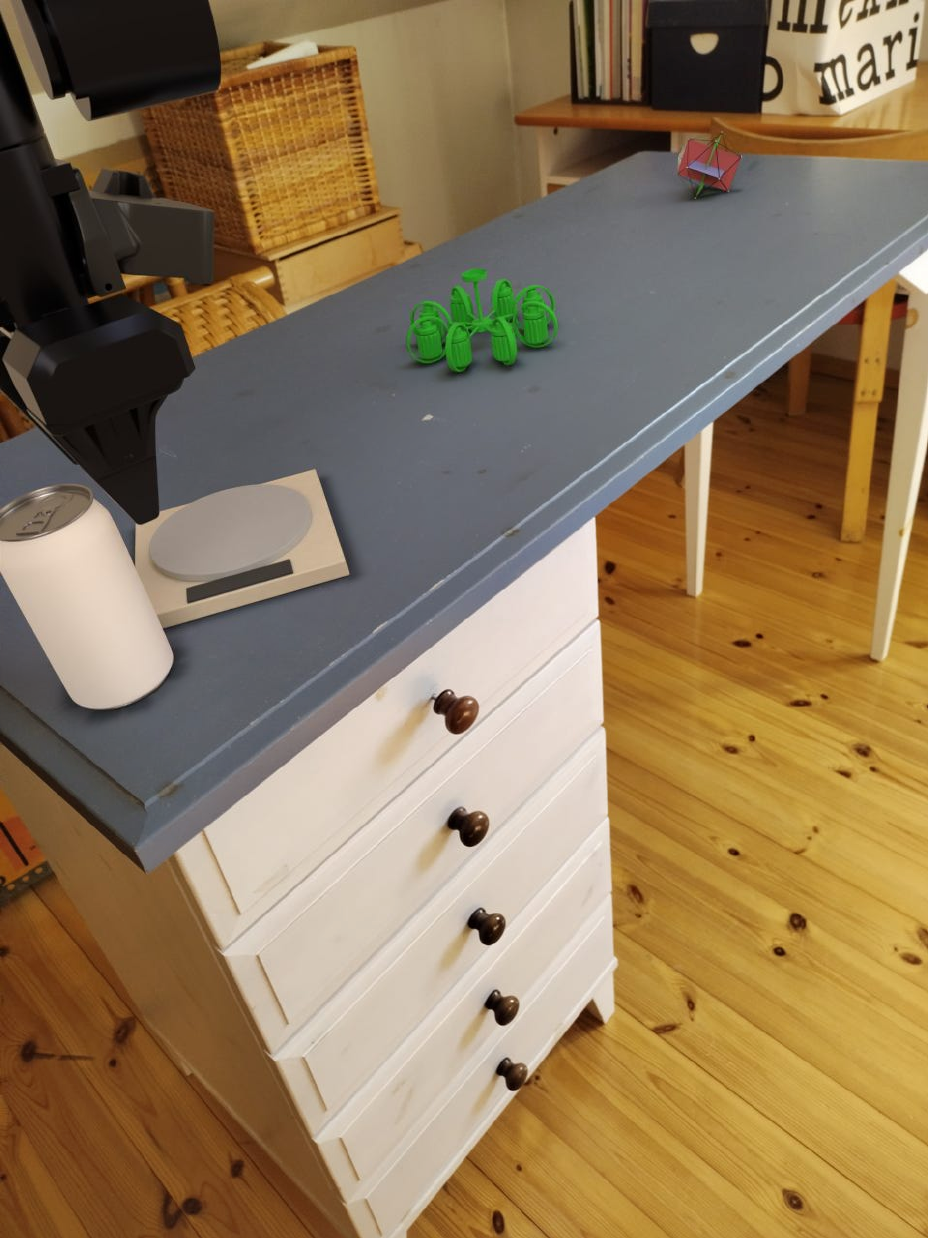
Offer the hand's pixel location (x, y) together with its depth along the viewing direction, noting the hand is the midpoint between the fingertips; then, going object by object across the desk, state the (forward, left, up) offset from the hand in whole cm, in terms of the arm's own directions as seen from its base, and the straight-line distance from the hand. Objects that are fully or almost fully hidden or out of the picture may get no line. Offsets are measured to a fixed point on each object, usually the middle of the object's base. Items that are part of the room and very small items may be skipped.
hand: (114, 488), depth 47 cm
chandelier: (+29, +40, -14) cm, 51 cm away
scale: (+3, +15, -14) cm, 20 cm away
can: (-5, +4, -14) cm, 15 cm away
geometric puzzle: (+67, +69, -14) cm, 97 cm away
